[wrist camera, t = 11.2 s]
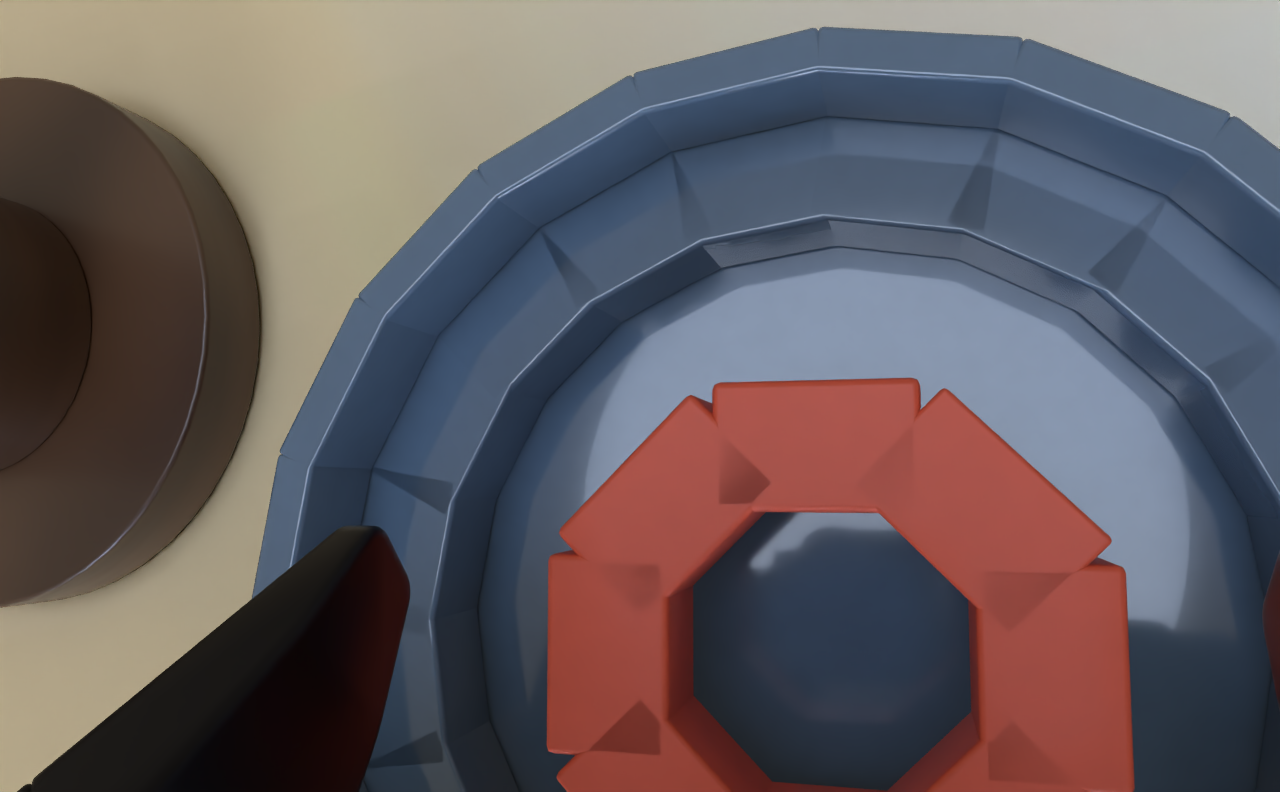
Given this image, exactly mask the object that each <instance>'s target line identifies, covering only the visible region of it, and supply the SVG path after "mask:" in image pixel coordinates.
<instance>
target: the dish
mask: <svg viewBox="0 0 1280 792" xmlns="http://www.w3.org/2000/svg"><path fill="white" fill-rule="evenodd" d="M878 378H914V379H917V380H918V382H919V384H920V392H921V409H922V408H923V407H924V406H925V405H926V404H927V403H928V402H929V401H930V400H931V399H932V398H933V397H934V396H935V395H936V394H937V393H938V392H939V391H940V390H941V389H944V388H945V389H948V390H949V391H950V392H951V393H952V394H954V395H955V396H956V397H957V398H958V399H959V400H960V401H961V402H962V403H963V404H965V405H966V406H967V407H968V408H969V409H970V410H971V411H972V412H973V413H974V414H976V415H977V416H978V417H979V418H980V419H981V420H982V421H983V422H984V423H985V424H987V425H988V426H989V427H990V428H991V429H992V430H993V431H994V432H995V433H996V434H998V435H999V436H1000V437H1001V438H1002V439H1003V440H1004V441H1005V442H1006V443H1007V444H1009V445H1010V446H1011V447H1012V448H1013V449H1014V450H1015V451H1016V452H1017V453H1018V454H1020V455H1021V456H1022V457H1023V458H1024V459H1025V460H1026V461H1027V462H1028V463H1029V464H1031V465H1032V466H1033V467H1034V468H1035V469H1036V470H1037V471H1038V472H1039V473H1040V474H1042V475H1043V476H1044V477H1045V478H1046V479H1047V480H1048V481H1049V482H1050V483H1051V484H1053V485H1054V486H1055V487H1056V488H1057V489H1058V490H1059V491H1060V492H1061V493H1062V494H1064V495H1065V496H1066V497H1067V498H1068V499H1069V500H1070V501H1071V502H1072V503H1074V504H1075V505H1076V506H1077V507H1078V508H1079V509H1080V510H1081V511H1082V512H1083V513H1085V514H1086V515H1087V516H1088V517H1089V518H1090V519H1091V520H1092V521H1093V522H1094V523H1096V524H1097V525H1098V526H1099V527H1100V528H1101V529H1102V530H1103V531H1104V532H1105V533H1107V534H1108V535H1109V536H1110V538H1111V540H1112V541H1111V544H1110V545H1109V546H1108V547H1107V548H1106V549H1105V550H1104V551H1103V552H1102V553H1101V554H1100V555H1098V556H1097V557H1098V558H1101V559H1103V560H1106V561H1108V562H1111V563H1113V564H1116V565H1118V566H1121V567H1123V568H1124V570H1125V572H1126V585H1127V610H1128V635H1129V660H1130V685H1131V710H1132V735H1133V760H1134V785H1135V789H1134V791H1133V792H1280V711H1279V706H1278V701H1277V696H1276V691H1275V686H1274V681H1273V676H1272V671H1271V666H1270V661H1269V656H1268V651H1267V646H1266V641H1265V636H1264V630H1263V621H1262V610H1263V603H1264V599H1265V596H1266V592H1267V589H1268V586H1269V583H1270V580H1271V576H1272V573H1273V570H1274V567H1275V564H1276V560H1277V557H1278V554H1279V551H1280V149H1278V148H1277V147H1276V146H1275V145H1273V144H1272V143H1271V142H1269V141H1268V140H1267V139H1265V138H1264V137H1263V136H1262V135H1260V134H1259V133H1258V132H1256V131H1255V130H1254V129H1253V128H1251V127H1250V126H1249V125H1247V124H1246V123H1245V122H1244V121H1242V120H1241V119H1240V118H1238V117H1235V116H1233V117H1230V113H1228V112H1227V111H1225V110H1222V109H1219V108H1217V107H1214V106H1211V105H1208V104H1206V103H1203V102H1200V101H1198V100H1195V99H1192V98H1189V97H1187V96H1184V95H1181V94H1178V93H1176V92H1173V91H1170V90H1167V89H1165V88H1162V87H1159V86H1157V85H1154V84H1151V83H1148V82H1146V81H1143V80H1140V79H1137V78H1135V77H1132V76H1129V75H1126V74H1124V73H1121V72H1118V71H1116V70H1113V69H1110V68H1107V67H1105V66H1102V65H1099V64H1096V63H1094V62H1091V61H1088V60H1085V59H1083V58H1080V57H1077V56H1075V55H1072V54H1069V53H1066V52H1064V51H1061V50H1058V49H1055V48H1053V47H1050V46H1047V45H1044V44H1042V43H1039V42H1036V41H1034V40H1031V39H1025V40H1024V41H1022V38H1020V37H1013V36H993V35H973V34H954V33H934V32H914V31H894V30H874V29H854V28H835V27H822V28H820V29H819V31H818V30H817V29H816V28H811V29H807V30H803V31H799V32H795V33H791V34H787V35H783V36H779V37H775V38H771V39H767V40H763V41H759V42H755V43H751V44H747V45H743V46H739V47H735V48H731V49H727V50H723V51H719V52H715V53H711V54H707V55H703V56H699V57H695V58H691V59H687V60H683V61H679V62H675V63H671V64H667V65H663V66H659V67H656V68H652V69H648V70H644V71H640V72H636V73H635V74H634V76H633V77H632V76H627V77H625V78H623V79H622V80H620V81H618V82H617V83H615V84H613V85H612V86H610V87H608V88H607V89H605V90H603V91H602V92H600V93H598V94H597V95H595V96H593V97H592V98H590V99H588V100H587V101H585V102H583V103H582V104H580V105H578V106H576V107H575V108H573V109H571V110H570V111H568V112H566V113H565V114H563V115H561V116H560V117H558V118H556V119H555V120H553V121H551V122H550V123H548V124H546V125H545V126H543V127H541V128H540V129H538V130H536V131H535V132H533V133H531V134H530V135H528V136H526V137H525V138H523V139H521V140H520V141H518V142H516V143H515V144H513V145H511V146H510V147H508V148H506V149H505V150H503V151H501V152H500V153H498V154H496V155H495V156H493V157H491V158H490V159H488V160H486V161H485V162H483V163H481V164H480V165H479V166H478V170H477V169H474V170H472V171H471V172H470V173H469V175H468V176H467V177H466V178H465V179H464V180H463V181H462V182H461V183H460V184H459V185H458V187H457V188H456V189H455V190H454V191H453V192H452V193H451V194H450V195H449V196H448V197H447V199H446V200H445V201H444V202H443V203H442V204H441V205H440V206H439V207H438V208H437V209H436V211H435V212H434V213H433V214H432V215H431V216H430V217H429V218H428V219H427V220H426V221H425V223H424V224H423V225H422V226H421V227H420V228H419V229H418V230H417V231H416V232H415V233H414V235H413V236H412V237H411V238H410V239H409V240H408V241H407V242H406V243H405V244H404V245H403V246H402V248H401V249H400V250H399V251H398V252H397V253H396V254H395V255H394V256H393V257H392V258H391V260H390V261H389V262H388V263H387V264H386V265H385V266H384V267H383V268H382V269H381V270H380V272H379V273H378V274H377V275H376V276H375V277H374V278H373V279H372V280H371V281H370V282H369V284H368V285H367V286H366V287H365V288H364V289H363V290H362V291H361V292H360V294H359V298H356V299H355V300H354V302H353V304H352V306H351V308H350V310H349V312H348V314H347V316H346V318H345V320H344V322H343V324H342V326H341V328H340V330H339V332H338V334H337V336H336V338H335V340H334V342H333V344H332V346H331V348H330V350H329V352H328V354H327V356H326V358H325V360H324V362H323V364H322V366H321V368H320V370H319V372H318V374H317V376H316V378H315V380H314V382H313V384H312V386H311V388H310V390H309V392H308V394H307V396H306V398H305V400H304V403H303V405H302V407H301V409H300V411H299V413H298V415H297V417H296V419H295V421H294V423H293V425H292V427H291V429H290V431H289V433H288V435H287V437H286V439H285V441H284V443H283V445H282V447H281V449H280V453H281V455H280V456H279V457H278V461H277V467H276V472H275V477H274V483H273V488H272V493H271V499H270V504H269V509H268V515H267V520H266V525H265V531H264V536H263V541H262V547H261V552H260V557H259V563H258V568H257V573H256V579H255V584H254V589H253V595H252V599H253V598H254V597H255V596H256V595H258V594H259V593H260V592H261V591H262V590H264V589H265V588H266V587H267V586H268V585H270V584H271V583H272V582H273V581H275V580H276V579H277V578H278V577H279V576H281V575H282V574H283V573H284V572H286V571H287V570H288V569H289V568H290V567H292V566H293V565H294V564H295V563H296V562H298V561H299V560H300V559H301V558H303V557H304V556H305V555H306V554H307V553H309V552H310V551H311V550H312V549H314V548H315V547H316V546H317V545H318V544H320V543H321V542H322V541H323V540H325V539H326V538H327V537H328V536H329V535H331V534H332V533H333V532H334V531H336V530H337V529H339V528H341V527H343V526H348V525H364V526H378V527H380V528H382V529H383V530H384V531H385V532H386V533H387V535H388V537H389V539H390V541H391V543H392V545H393V547H394V549H395V551H396V553H397V555H398V557H399V559H400V561H401V563H402V565H403V567H404V569H405V571H406V573H407V575H408V578H409V582H410V591H411V593H410V602H409V607H408V611H407V615H406V620H405V624H404V628H403V633H402V637H401V641H400V645H399V650H398V654H397V658H396V663H395V667H394V671H393V675H392V680H391V684H390V688H389V693H388V697H387V701H386V705H385V710H384V714H383V718H382V722H381V725H380V729H379V733H378V737H377V740H376V743H375V746H374V749H373V753H372V756H371V759H370V762H369V765H368V768H367V770H366V773H365V776H364V779H363V782H362V785H361V788H360V790H359V792H567V791H566V790H565V788H564V787H563V786H562V785H561V784H560V783H559V781H558V780H557V774H558V772H559V771H560V770H561V769H562V768H563V767H564V766H565V765H566V764H567V763H568V762H569V761H570V760H571V759H572V758H573V757H574V756H575V755H567V754H554V753H552V752H550V751H548V748H547V662H548V561H549V558H550V556H551V555H553V554H555V553H560V552H565V551H570V550H572V549H571V547H570V546H569V545H568V544H567V543H566V542H565V541H564V540H563V539H562V538H561V536H560V534H559V531H560V529H561V527H562V526H563V525H564V524H565V523H566V522H567V521H568V520H569V519H570V518H571V517H572V516H573V515H574V514H575V512H576V511H577V510H578V509H579V508H580V507H581V506H582V505H583V504H584V503H585V502H586V501H587V500H588V499H589V498H590V497H591V496H592V495H593V494H594V493H595V492H596V491H597V490H598V488H599V487H600V486H601V485H602V484H603V483H604V482H605V481H606V480H607V479H608V478H609V477H610V476H611V475H612V474H613V473H614V472H615V471H616V470H617V469H618V468H619V467H620V466H621V464H622V463H623V462H624V461H625V460H626V459H627V458H628V457H629V456H630V455H631V454H632V453H633V452H634V451H635V450H636V449H637V448H638V447H639V446H640V445H641V444H642V443H643V442H644V440H645V439H646V438H647V437H648V436H649V435H650V434H651V433H652V432H653V431H654V430H655V429H656V428H657V427H658V426H659V425H660V424H661V423H662V422H663V421H664V420H665V419H666V418H667V416H668V415H669V414H670V413H671V412H672V411H673V410H674V409H675V408H676V407H677V406H678V405H679V404H680V403H681V402H682V401H683V400H684V399H685V398H686V397H687V396H690V395H692V396H695V397H697V398H700V399H702V400H705V401H707V402H710V403H712V390H713V387H714V385H715V384H718V383H720V382H758V381H798V380H838V379H878ZM693 695H694V697H695V698H696V699H697V700H698V701H699V702H700V703H701V704H702V705H703V706H704V708H705V709H706V710H707V711H708V712H709V713H710V714H711V715H712V716H713V717H714V718H715V720H716V721H717V722H718V723H719V724H720V725H721V726H722V727H723V728H724V729H725V731H726V732H727V733H728V734H729V735H730V736H731V737H732V738H733V739H734V740H735V741H736V743H737V744H738V745H739V746H740V747H741V748H742V749H743V750H744V751H745V752H746V754H747V755H748V756H749V757H750V758H751V759H752V760H753V761H754V762H755V763H756V764H757V766H758V767H759V768H760V769H761V770H762V771H763V772H764V773H765V774H766V775H767V777H768V778H769V779H770V780H771V781H772V782H782V783H795V784H808V785H821V786H834V787H847V788H859V789H872V790H885V791H887V790H888V789H890V788H891V787H892V786H893V785H894V784H895V783H896V782H897V781H898V780H899V779H900V778H901V777H902V776H903V775H904V774H905V773H907V772H908V771H909V770H910V769H911V768H912V767H913V766H914V765H915V764H916V763H917V762H918V761H919V760H920V759H921V758H922V757H924V756H925V755H926V754H927V753H928V752H929V751H930V750H931V749H932V748H933V747H934V746H935V745H936V744H937V743H938V742H939V741H941V740H942V739H943V738H944V737H945V736H946V735H947V734H948V733H949V732H950V731H951V730H952V729H953V728H954V727H955V726H956V725H958V724H959V723H960V722H961V721H962V720H963V719H964V718H965V717H966V716H967V715H968V714H969V713H970V712H971V685H970V647H969V610H968V599H967V598H966V597H965V596H964V595H963V594H962V593H961V592H960V591H959V590H958V589H957V588H956V587H955V586H953V585H952V584H951V583H950V582H949V581H948V580H947V579H946V578H945V577H944V576H943V575H942V574H941V573H940V572H939V571H938V570H937V569H936V568H935V567H934V566H933V565H932V564H931V563H930V562H929V561H928V560H927V559H926V558H925V557H924V556H923V555H922V554H920V553H919V552H918V551H917V550H916V549H915V548H914V547H913V546H912V545H911V544H910V543H909V542H908V541H907V540H906V539H905V538H904V537H903V536H902V535H901V534H900V533H899V532H898V531H897V530H896V529H895V528H894V527H893V526H892V525H891V524H890V523H888V522H887V521H886V520H885V519H884V518H883V517H882V516H881V515H880V514H879V513H814V512H765V514H764V515H763V516H762V517H761V518H760V519H759V520H758V521H757V522H756V523H755V524H754V525H753V526H752V527H751V528H750V529H749V530H748V531H747V532H746V533H745V534H744V535H743V536H742V537H741V538H740V539H739V540H738V541H737V542H736V543H735V544H734V545H733V546H732V547H731V548H730V549H729V550H728V551H727V552H726V553H725V554H724V555H723V556H722V557H721V558H720V559H719V560H718V561H717V562H716V563H715V564H714V565H713V566H712V567H711V568H710V569H709V570H708V571H707V572H706V573H705V574H704V575H703V576H702V577H701V578H700V579H699V580H698V581H697V582H696V583H695V584H694V585H693Z"/></svg>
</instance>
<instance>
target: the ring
mask: <svg viewBox="0 0 1280 792" xmlns="http://www.w3.org/2000/svg"><path fill="white" fill-rule="evenodd" d="M765 512H814V513H879V514H880V515H881V516H882V517H883V518H884V519H885V520H886V521H887V522H888V523H890V524H891V525H892V526H893V527H894V528H895V529H896V530H897V531H898V532H899V533H900V534H901V535H902V536H903V537H904V538H905V539H906V540H907V541H908V542H909V543H910V544H911V545H912V546H913V547H914V548H915V549H916V550H917V551H918V552H919V553H920V554H922V555H923V556H924V557H925V558H926V559H927V560H928V561H929V562H930V563H931V564H932V565H933V566H934V567H935V568H936V569H937V570H938V571H939V572H940V573H941V574H942V575H943V576H944V577H945V578H946V579H947V580H948V581H949V582H950V583H951V584H952V585H953V586H955V587H956V588H957V589H958V590H959V591H960V592H961V593H962V594H963V595H964V596H965V597H966V598H967V599H968V610H969V647H970V685H971V712H970V713H969V714H968V715H967V716H966V717H965V718H964V719H963V720H962V721H961V722H960V723H959V724H958V725H956V726H955V727H954V728H953V729H952V730H951V731H950V732H949V733H948V734H947V735H946V736H945V737H944V738H943V739H942V740H941V741H939V742H938V743H937V744H936V745H935V746H934V747H933V748H932V749H931V750H930V751H929V752H928V753H927V754H926V755H925V756H924V757H922V758H921V759H920V760H919V761H918V762H917V763H916V764H915V765H914V766H913V767H912V768H911V769H910V770H909V771H908V772H907V773H905V774H904V775H903V776H902V777H901V778H900V779H899V780H898V781H897V782H896V783H895V784H894V785H893V786H892V787H891V788H890V789H888V790H887V791H885V790H872V789H859V788H847V787H834V786H821V785H808V784H795V783H782V782H772V781H771V780H770V779H769V778H768V777H767V775H766V774H765V773H764V772H763V771H762V770H761V769H760V768H759V767H758V766H757V764H756V763H755V762H754V761H753V760H752V759H751V758H750V757H749V756H748V755H747V754H746V752H745V751H744V750H743V749H742V748H741V747H740V746H739V745H738V744H737V743H736V741H735V740H734V739H733V738H732V737H731V736H730V735H729V734H728V733H727V732H726V731H725V729H724V728H723V727H722V726H721V725H720V724H719V723H718V722H717V721H716V720H715V718H714V717H713V716H712V715H711V714H710V713H709V712H708V711H707V710H706V709H705V708H704V706H703V705H702V704H701V703H700V702H699V701H698V700H697V699H696V698H695V697H694V695H693V585H694V584H695V583H696V582H697V581H698V580H699V579H700V578H701V577H702V576H703V575H704V574H705V573H706V572H707V571H708V570H709V569H710V568H711V567H712V566H713V565H714V564H715V563H716V562H717V561H718V560H719V559H720V558H721V557H722V556H723V555H724V554H725V553H726V552H727V551H728V550H729V549H730V548H731V547H732V546H733V545H734V544H735V543H736V542H737V541H738V540H739V539H740V538H741V537H742V536H743V535H744V534H745V533H746V532H747V531H748V530H749V529H750V528H751V527H752V526H753V525H754V524H755V523H756V522H757V521H758V520H759V519H760V518H761V517H762V516H763V515H764V514H765ZM559 534H560V536H561V538H562V539H563V540H564V541H565V542H566V543H567V544H568V545H569V546H570V547H571V549H572V550H570V551H565V552H560V553H555V554H553V555H551V556H550V558H549V561H548V662H547V748H548V751H550V752H552V753H554V754H567V755H575V756H574V757H573V758H572V759H571V760H570V761H569V762H568V763H567V764H566V765H565V766H564V767H563V768H562V769H561V770H560V771H559V772H558V774H557V780H558V781H559V783H560V784H561V785H562V786H563V787H564V788H565V790H566V791H567V792H1133V791H1134V789H1135V785H1134V760H1133V735H1132V710H1131V685H1130V660H1129V635H1128V610H1127V585H1126V572H1125V570H1124V568H1123V567H1121V566H1118V565H1116V564H1113V563H1111V562H1108V561H1106V560H1103V559H1101V558H1098V557H1097V556H1098V555H1100V554H1101V553H1102V552H1103V551H1104V550H1105V549H1106V548H1107V547H1108V546H1109V545H1110V544H1111V541H1112V540H1111V538H1110V536H1109V535H1108V534H1107V533H1105V532H1104V531H1103V530H1102V529H1101V528H1100V527H1099V526H1098V525H1097V524H1096V523H1094V522H1093V521H1092V520H1091V519H1090V518H1089V517H1088V516H1087V515H1086V514H1085V513H1083V512H1082V511H1081V510H1080V509H1079V508H1078V507H1077V506H1076V505H1075V504H1074V503H1072V502H1071V501H1070V500H1069V499H1068V498H1067V497H1066V496H1065V495H1064V494H1062V493H1061V492H1060V491H1059V490H1058V489H1057V488H1056V487H1055V486H1054V485H1053V484H1051V483H1050V482H1049V481H1048V480H1047V479H1046V478H1045V477H1044V476H1043V475H1042V474H1040V473H1039V472H1038V471H1037V470H1036V469H1035V468H1034V467H1033V466H1032V465H1031V464H1029V463H1028V462H1027V461H1026V460H1025V459H1024V458H1023V457H1022V456H1021V455H1020V454H1018V453H1017V452H1016V451H1015V450H1014V449H1013V448H1012V447H1011V446H1010V445H1009V444H1007V443H1006V442H1005V441H1004V440H1003V439H1002V438H1001V437H1000V436H999V435H998V434H996V433H995V432H994V431H993V430H992V429H991V428H990V427H989V426H988V425H987V424H985V423H984V422H983V421H982V420H981V419H980V418H979V417H978V416H977V415H976V414H974V413H973V412H972V411H971V410H970V409H969V408H968V407H967V406H966V405H965V404H963V403H962V402H961V401H960V400H959V399H958V398H957V397H956V396H955V395H954V394H952V393H951V392H950V391H949V390H948V389H945V388H944V389H941V390H940V391H939V392H938V393H937V394H936V395H935V396H934V397H933V398H932V399H931V400H930V401H929V402H928V403H927V404H926V405H925V406H924V407H923V408H922V409H921V392H920V384H919V382H918V380H917V379H914V378H878V379H838V380H798V381H758V382H720V383H718V384H715V385H714V387H713V390H712V403H710V402H707V401H705V400H702V399H700V398H697V397H695V396H692V395H690V396H687V397H686V398H685V399H684V400H683V401H682V402H681V403H680V404H679V405H678V406H677V407H676V408H675V409H674V410H673V411H672V412H671V413H670V414H669V415H668V416H667V418H666V419H665V420H664V421H663V422H662V423H661V424H660V425H659V426H658V427H657V428H656V429H655V430H654V431H653V432H652V433H651V434H650V435H649V436H648V437H647V438H646V439H645V440H644V442H643V443H642V444H641V445H640V446H639V447H638V448H637V449H636V450H635V451H634V452H633V453H632V454H631V455H630V456H629V457H628V458H627V459H626V460H625V461H624V462H623V463H622V464H621V466H620V467H619V468H618V469H617V470H616V471H615V472H614V473H613V474H612V475H611V476H610V477H609V478H608V479H607V480H606V481H605V482H604V483H603V484H602V485H601V486H600V487H599V488H598V490H597V491H596V492H595V493H594V494H593V495H592V496H591V497H590V498H589V499H588V500H587V501H586V502H585V503H584V504H583V505H582V506H581V507H580V508H579V509H578V510H577V511H576V512H575V514H574V515H573V516H572V517H571V518H570V519H569V520H568V521H567V522H566V523H565V524H564V525H563V526H562V527H561V529H560V531H559Z"/></svg>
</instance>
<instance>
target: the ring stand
mask: <svg viewBox="0 0 1280 792" xmlns="http://www.w3.org/2000/svg"><path fill="white" fill-rule="evenodd" d="M259 335H260V323H259V303H258V292H257V286H256V280H255V274H254V269H253V263H252V259H251V256H250V253H249V249H248V246H247V243H246V240H245V236H244V233H243V230H242V228H241V226H240V224H239V221H238V219H237V217H236V215H235V213H234V210H233V208H232V206H231V204H230V202H229V200H228V199H227V197H226V196H225V194H224V192H223V191H222V189H221V188H220V186H219V184H218V183H217V181H216V180H215V178H214V177H213V175H212V174H211V173H210V172H209V171H208V169H207V168H206V167H205V166H204V165H203V164H202V162H201V161H200V160H199V159H198V158H197V156H196V155H195V154H194V153H193V152H192V151H190V150H189V149H188V148H187V147H186V146H185V145H183V144H182V143H181V142H180V141H179V140H178V139H177V138H175V137H174V136H173V135H171V134H170V133H168V132H167V131H165V130H163V129H162V128H160V127H159V126H157V125H155V124H154V123H152V122H151V121H149V120H147V119H145V118H142V117H140V116H138V115H136V114H134V113H132V112H130V111H128V110H126V109H124V108H122V107H120V106H118V105H116V104H114V103H111V102H109V101H107V100H105V99H103V98H101V97H99V96H97V95H94V94H92V93H90V92H87V91H85V90H83V89H80V88H78V87H75V86H73V85H69V84H65V83H61V82H56V81H52V80H48V79H39V78H24V77H11V78H1V79H0V607H8V606H15V605H23V604H31V603H38V602H46V601H54V600H61V599H65V598H69V597H73V596H77V595H81V594H85V593H89V592H92V591H94V590H96V589H99V588H101V587H103V586H106V585H108V584H111V583H113V582H115V581H117V580H119V579H121V578H122V577H124V576H126V575H127V574H129V573H130V572H132V571H134V570H135V569H137V568H139V567H140V566H142V565H143V564H145V563H146V562H147V561H148V560H150V559H151V558H152V557H153V556H155V555H156V554H157V553H158V552H160V551H161V550H162V549H163V548H164V547H166V546H167V545H168V544H169V543H170V542H171V541H172V540H173V539H174V538H175V537H176V536H177V535H178V534H179V533H180V532H181V531H182V530H183V528H184V527H185V526H186V525H187V524H188V523H189V522H190V521H191V520H192V519H193V517H194V516H195V515H196V513H197V512H198V510H199V509H200V508H201V506H202V505H203V504H204V502H205V501H206V500H207V498H208V497H209V496H210V494H211V493H212V491H213V489H214V487H215V486H216V484H217V482H218V480H219V479H220V477H221V475H222V473H223V472H224V470H225V468H226V466H227V465H228V462H229V460H230V458H231V455H232V453H233V451H234V448H235V446H236V444H237V441H238V439H239V437H240V434H241V432H242V429H243V425H244V422H245V418H246V415H247V412H248V408H249V405H250V402H251V398H252V393H253V387H254V381H255V376H256V370H257V365H258V350H259Z"/></svg>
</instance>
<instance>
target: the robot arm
mask: <svg viewBox="0 0 1280 792" xmlns="http://www.w3.org/2000/svg"><path fill="white" fill-rule="evenodd" d="M410 593H411V591H410V582H409V578H408V575H407V573H406V571H405V569H404V567H403V565H402V563H401V561H400V559H399V557H398V555H397V553H396V551H395V549H394V547H393V545H392V543H391V541H390V539H389V537H388V535H387V533H386V532H385V531H384V530H383V529H382V528H380V527H378V526H364V525H348V526H343V527H341V528H339V529H337V530H336V531H334V532H333V533H332V534H331V535H329V536H328V537H327V538H326V539H325V540H323V541H322V542H321V543H320V544H318V545H317V546H316V547H315V548H314V549H312V550H311V551H310V552H309V553H307V554H306V555H305V556H304V557H303V558H301V559H300V560H299V561H298V562H296V563H295V564H294V565H293V566H292V567H290V568H289V569H288V570H287V571H286V572H284V573H283V574H282V575H281V576H279V577H278V578H277V579H276V580H275V581H273V582H272V583H271V584H270V585H268V586H267V587H266V588H265V589H264V590H262V591H261V592H260V593H259V594H258V595H256V596H255V597H254V598H253V599H251V600H250V601H249V602H248V603H247V604H245V605H244V606H243V607H242V608H240V609H239V610H238V611H237V612H236V613H234V614H233V615H232V616H231V617H229V618H228V619H227V620H226V621H225V622H223V623H222V624H221V625H220V626H219V627H217V628H216V629H215V630H214V631H212V632H211V633H210V634H209V635H208V636H206V637H205V638H204V639H203V640H201V641H200V642H199V643H198V644H197V645H195V646H194V647H193V648H192V649H191V650H189V651H188V652H187V653H186V654H184V655H183V656H182V657H181V658H180V659H178V660H177V661H176V662H175V663H173V664H172V665H171V666H170V667H169V668H167V669H166V670H165V671H164V672H162V673H161V674H160V675H159V676H158V677H156V678H155V679H154V680H153V681H152V682H150V683H149V684H148V685H147V686H145V687H144V688H143V689H142V690H141V691H139V692H138V693H137V694H136V695H134V696H133V697H132V698H131V699H130V700H128V701H127V702H126V703H125V704H124V705H122V706H121V707H120V708H119V709H117V710H116V711H115V712H114V713H113V714H111V715H110V716H109V717H108V718H106V719H105V720H104V721H103V722H102V723H100V724H99V725H98V726H97V727H95V728H94V729H93V730H92V731H91V732H89V733H88V734H87V735H86V736H84V737H83V738H82V739H81V740H80V741H78V742H77V743H76V744H75V745H74V746H72V747H71V748H70V749H69V750H67V751H66V752H65V753H64V754H63V755H61V756H60V757H59V758H58V759H56V760H55V761H54V762H53V763H52V764H50V765H49V766H48V767H47V768H45V769H44V770H43V771H42V772H41V773H39V774H38V775H37V776H36V777H35V778H34V779H33V782H32V785H31V784H27V785H25V786H23V787H22V788H21V789H20V790H18V791H17V792H359V790H360V788H361V785H362V782H363V779H364V776H365V773H366V770H367V768H368V765H369V762H370V759H371V756H372V753H373V749H374V746H375V743H376V740H377V737H378V733H379V729H380V725H381V722H382V718H383V714H384V710H385V705H386V701H387V697H388V693H389V688H390V684H391V680H392V675H393V671H394V667H395V663H396V658H397V654H398V650H399V645H400V641H401V637H402V633H403V628H404V624H405V620H406V615H407V611H408V607H409V602H410ZM1262 621H1263V630H1264V636H1265V641H1266V646H1267V651H1268V656H1269V661H1270V666H1271V671H1272V676H1273V681H1274V686H1275V691H1276V696H1277V701H1278V706H1279V711H1280V551H1279V554H1278V557H1277V560H1276V564H1275V567H1274V570H1273V573H1272V576H1271V580H1270V583H1269V586H1268V589H1267V592H1266V596H1265V599H1264V603H1263V610H1262Z"/></svg>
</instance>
